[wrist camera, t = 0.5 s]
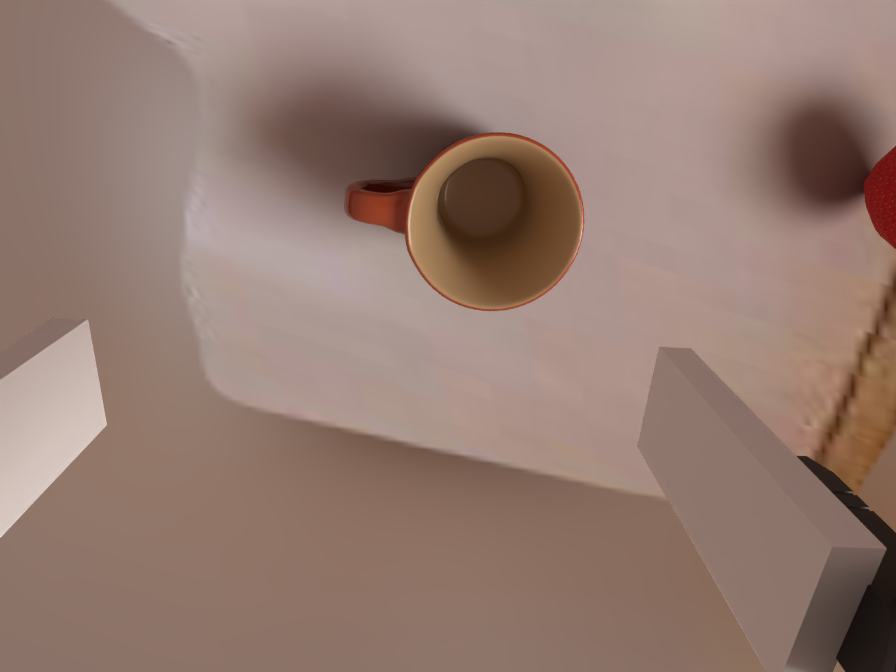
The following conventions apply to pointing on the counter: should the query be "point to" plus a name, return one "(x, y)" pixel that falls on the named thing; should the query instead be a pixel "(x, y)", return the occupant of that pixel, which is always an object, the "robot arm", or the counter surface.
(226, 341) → the counter surface
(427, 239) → the mug
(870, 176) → the strawberry
